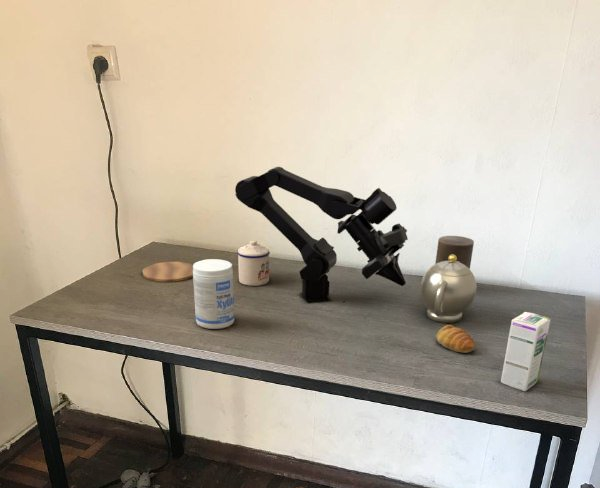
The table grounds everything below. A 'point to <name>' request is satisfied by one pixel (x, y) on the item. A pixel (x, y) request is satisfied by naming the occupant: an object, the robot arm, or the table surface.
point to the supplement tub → (213, 293)
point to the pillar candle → (455, 249)
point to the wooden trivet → (168, 271)
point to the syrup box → (525, 350)
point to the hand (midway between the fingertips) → (404, 284)
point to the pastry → (455, 339)
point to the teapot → (448, 290)
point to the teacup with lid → (253, 264)
